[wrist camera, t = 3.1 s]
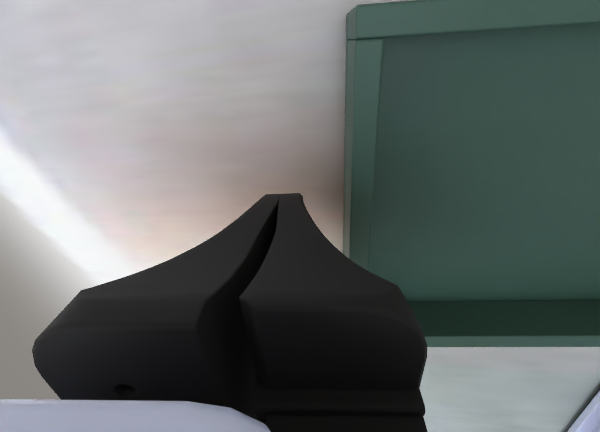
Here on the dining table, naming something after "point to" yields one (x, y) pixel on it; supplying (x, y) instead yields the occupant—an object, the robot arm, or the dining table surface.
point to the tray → (478, 165)
